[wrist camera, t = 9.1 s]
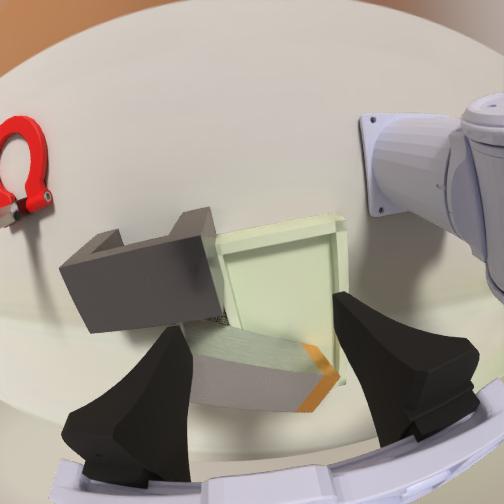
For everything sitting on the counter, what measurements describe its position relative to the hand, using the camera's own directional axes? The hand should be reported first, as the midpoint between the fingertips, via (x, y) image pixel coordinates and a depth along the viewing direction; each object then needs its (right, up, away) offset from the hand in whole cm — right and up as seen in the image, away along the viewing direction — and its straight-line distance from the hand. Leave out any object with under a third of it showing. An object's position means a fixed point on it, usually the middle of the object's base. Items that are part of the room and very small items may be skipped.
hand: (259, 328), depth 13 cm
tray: (+3, -2, +11) cm, 12 cm away
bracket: (-7, +4, +8) cm, 12 cm away
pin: (-1, -5, +10) cm, 11 cm away
